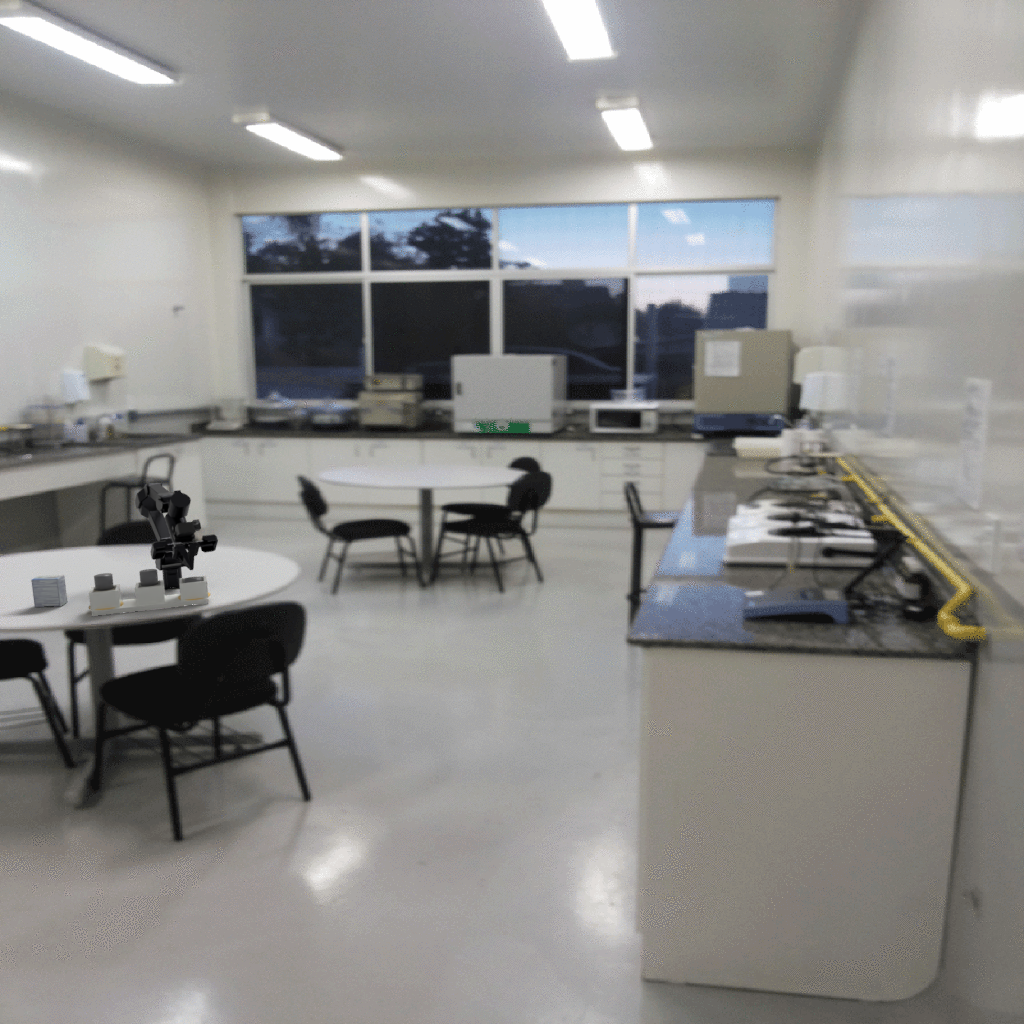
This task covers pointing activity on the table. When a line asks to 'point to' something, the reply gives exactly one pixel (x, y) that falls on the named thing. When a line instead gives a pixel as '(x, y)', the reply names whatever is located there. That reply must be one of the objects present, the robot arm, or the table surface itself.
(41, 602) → the medicine box
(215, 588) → the table surface
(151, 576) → the button
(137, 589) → the button board
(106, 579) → the button
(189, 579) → the button
